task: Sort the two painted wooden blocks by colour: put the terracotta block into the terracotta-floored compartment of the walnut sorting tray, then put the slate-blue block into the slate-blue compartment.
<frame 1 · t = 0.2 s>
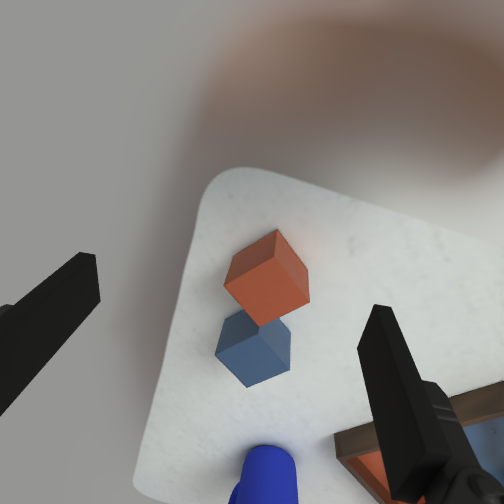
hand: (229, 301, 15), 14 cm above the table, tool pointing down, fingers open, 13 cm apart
terracotta block: (270, 262, 30), on the table
blue block: (257, 325, 34), on the table
mug: (261, 460, 46), on the table
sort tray: (447, 451, 40), on the table
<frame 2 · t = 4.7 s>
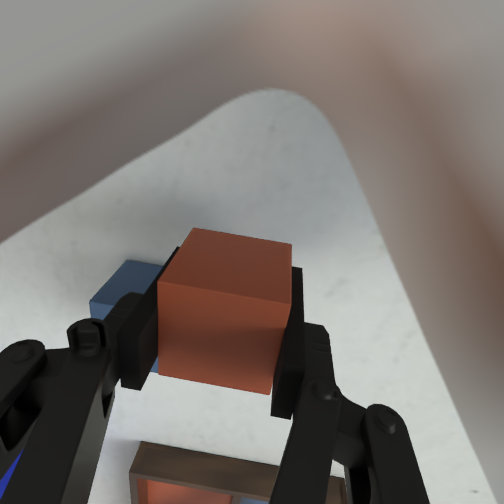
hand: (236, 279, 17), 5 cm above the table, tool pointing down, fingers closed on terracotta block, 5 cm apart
terracotta block: (236, 276, 17), point 5 cm above the table, touching gripper
blue block: (160, 293, 24), on the table
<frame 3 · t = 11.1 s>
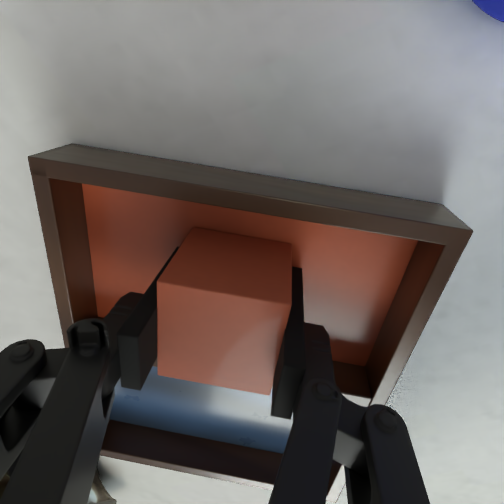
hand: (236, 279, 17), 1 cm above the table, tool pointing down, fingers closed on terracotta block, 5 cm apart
terracotta block: (236, 276, 17), point 1 cm above the table, touching gripper
salad plate: (26, 466, 32), on the table
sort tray: (230, 337, 21), on the table
when the fingers open (2 cm above the table, at t = 15.6 s): terracotta block stays where it is, resting on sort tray.
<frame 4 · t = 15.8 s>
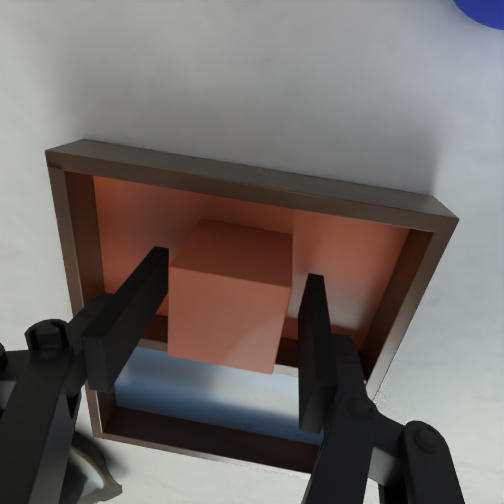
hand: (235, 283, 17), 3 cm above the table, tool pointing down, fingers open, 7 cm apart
terracotta block: (240, 266, 18), point 1 cm above the table, touching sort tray
salad plate: (34, 454, 33), on the table
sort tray: (233, 324, 22), on the table
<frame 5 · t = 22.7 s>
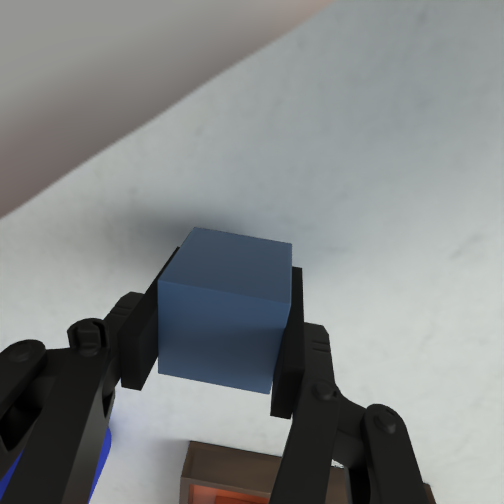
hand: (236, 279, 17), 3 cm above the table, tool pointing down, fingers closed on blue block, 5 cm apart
blue block: (237, 276, 17), point 2 cm above the table, touching gripper
mug: (60, 421, 30), on the table
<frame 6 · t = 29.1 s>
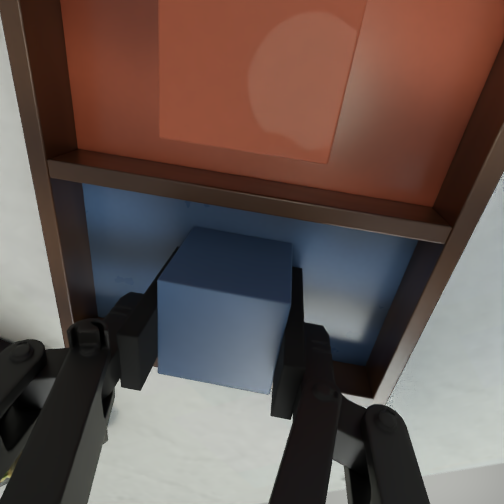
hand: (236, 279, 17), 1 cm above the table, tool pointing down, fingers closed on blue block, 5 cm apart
terracotta block: (268, 60, 13), point 1 cm above the table, touching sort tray
blue block: (237, 276, 17), point 1 cm above the table, touching gripper
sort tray: (252, 181, 16), on the table
when the fingers open (2 cm above the table, at t = 33.6 s): blue block stays where it is, resting on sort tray.
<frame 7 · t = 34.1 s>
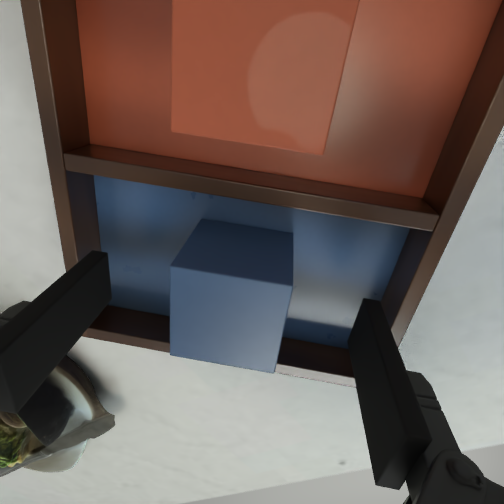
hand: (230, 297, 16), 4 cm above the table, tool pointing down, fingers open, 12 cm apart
terracotta block: (269, 61, 14), point 1 cm above the table, touching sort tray
blue block: (242, 265, 18), point 1 cm above the table, touching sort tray
salad plate: (12, 386, 28), on the table
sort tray: (253, 174, 17), on the table
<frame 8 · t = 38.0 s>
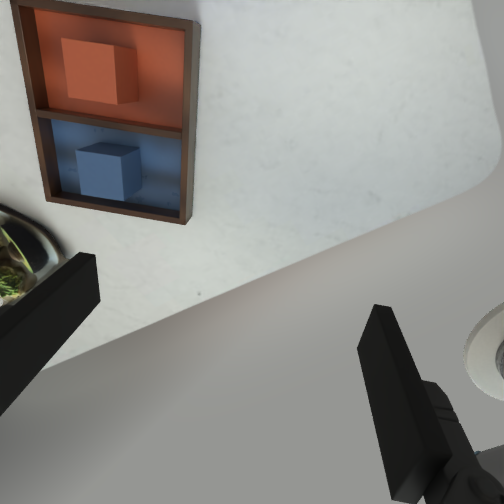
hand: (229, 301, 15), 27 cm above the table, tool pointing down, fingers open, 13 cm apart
terracotta block: (115, 72, 35), point 1 cm above the table, touching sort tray
blue block: (121, 165, 40), point 1 cm above the table, touching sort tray
salad plate: (15, 253, 50), on the table
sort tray: (121, 121, 38), on the table
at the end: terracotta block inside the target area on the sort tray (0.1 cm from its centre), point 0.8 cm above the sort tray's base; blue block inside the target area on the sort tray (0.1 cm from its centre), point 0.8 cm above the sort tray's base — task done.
